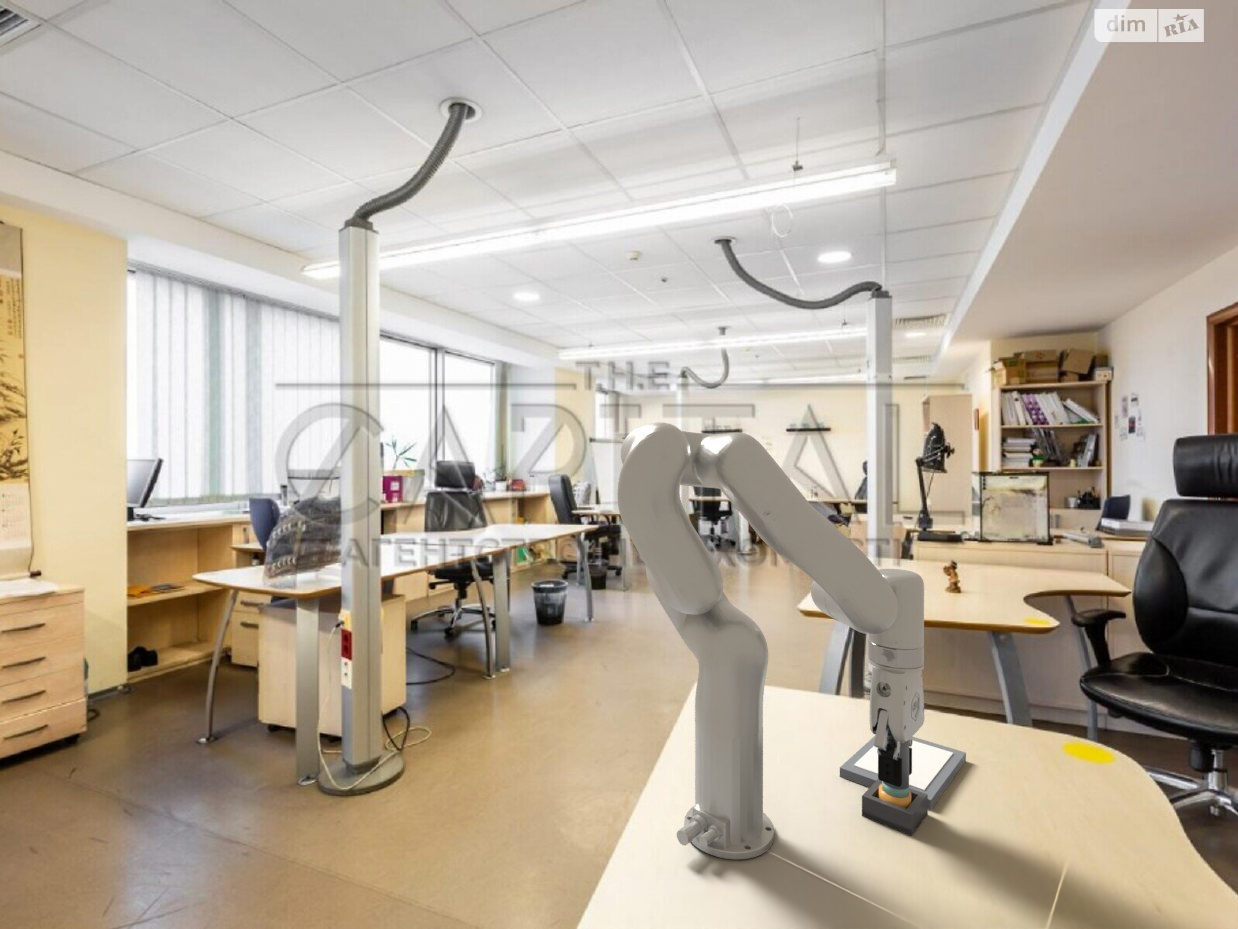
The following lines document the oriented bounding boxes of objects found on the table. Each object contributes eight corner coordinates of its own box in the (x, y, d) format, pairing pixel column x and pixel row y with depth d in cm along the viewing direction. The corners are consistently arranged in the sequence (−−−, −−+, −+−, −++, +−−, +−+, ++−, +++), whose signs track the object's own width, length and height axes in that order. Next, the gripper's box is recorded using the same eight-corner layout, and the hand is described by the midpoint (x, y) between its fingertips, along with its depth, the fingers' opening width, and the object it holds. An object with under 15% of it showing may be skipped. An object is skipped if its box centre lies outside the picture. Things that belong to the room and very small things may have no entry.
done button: (905, 819, 87) (905, 802, 86) (874, 807, 90) (874, 791, 89) (915, 806, 90) (915, 790, 90) (884, 795, 93) (885, 779, 93)
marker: (904, 801, 87) (904, 725, 87) (877, 791, 89) (877, 717, 89) (913, 790, 90) (913, 717, 89) (887, 781, 92) (887, 709, 92)
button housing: (911, 836, 85) (912, 815, 85) (861, 815, 89) (862, 795, 89) (927, 814, 90) (927, 794, 90) (879, 796, 95) (879, 777, 95)
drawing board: (930, 810, 91) (930, 798, 91) (839, 776, 100) (839, 765, 100) (965, 761, 105) (965, 750, 105) (883, 735, 115) (883, 726, 115)
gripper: (903, 675, 81) (902, 811, 81) (939, 646, 93) (939, 765, 93) (847, 662, 86) (847, 790, 86) (889, 636, 98) (888, 749, 98)
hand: (895, 776), depth 90 cm, fingers closed on marker, 3 cm apart
